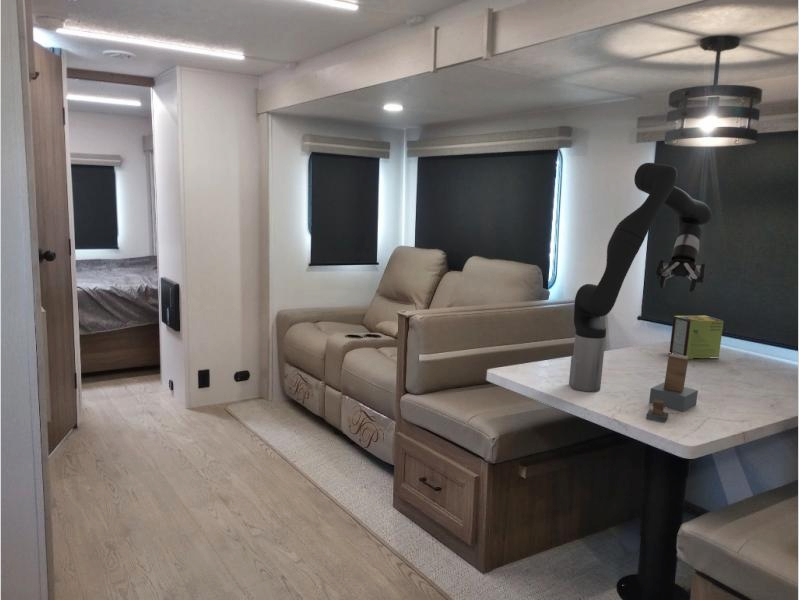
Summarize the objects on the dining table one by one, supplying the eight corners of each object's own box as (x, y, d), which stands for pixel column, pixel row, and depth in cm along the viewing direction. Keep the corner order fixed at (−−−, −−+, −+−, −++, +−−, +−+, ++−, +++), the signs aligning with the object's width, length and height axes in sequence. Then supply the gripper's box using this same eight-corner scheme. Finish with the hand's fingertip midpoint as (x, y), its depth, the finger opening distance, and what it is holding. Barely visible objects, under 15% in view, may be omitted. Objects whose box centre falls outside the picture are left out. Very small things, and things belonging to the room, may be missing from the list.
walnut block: (665, 385, 188) (670, 353, 187) (683, 388, 186) (688, 356, 184) (663, 388, 184) (668, 356, 183) (681, 392, 182) (686, 359, 180)
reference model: (649, 413, 176) (651, 397, 175) (668, 417, 173) (670, 400, 173) (646, 418, 172) (647, 401, 171) (665, 422, 169) (667, 405, 168)
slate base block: (662, 397, 193) (664, 382, 192) (695, 406, 186) (697, 390, 185) (648, 404, 186) (650, 388, 185) (682, 413, 179) (684, 396, 178)
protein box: (719, 358, 244) (724, 320, 242) (685, 359, 241) (690, 320, 238) (700, 352, 254) (705, 315, 252) (668, 352, 251) (672, 315, 248)
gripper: (662, 242, 206) (652, 279, 198) (709, 245, 199) (701, 284, 191) (663, 256, 211) (653, 293, 204) (709, 260, 204) (700, 298, 196)
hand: (676, 289), depth 197 cm, fingers open, 8 cm apart
